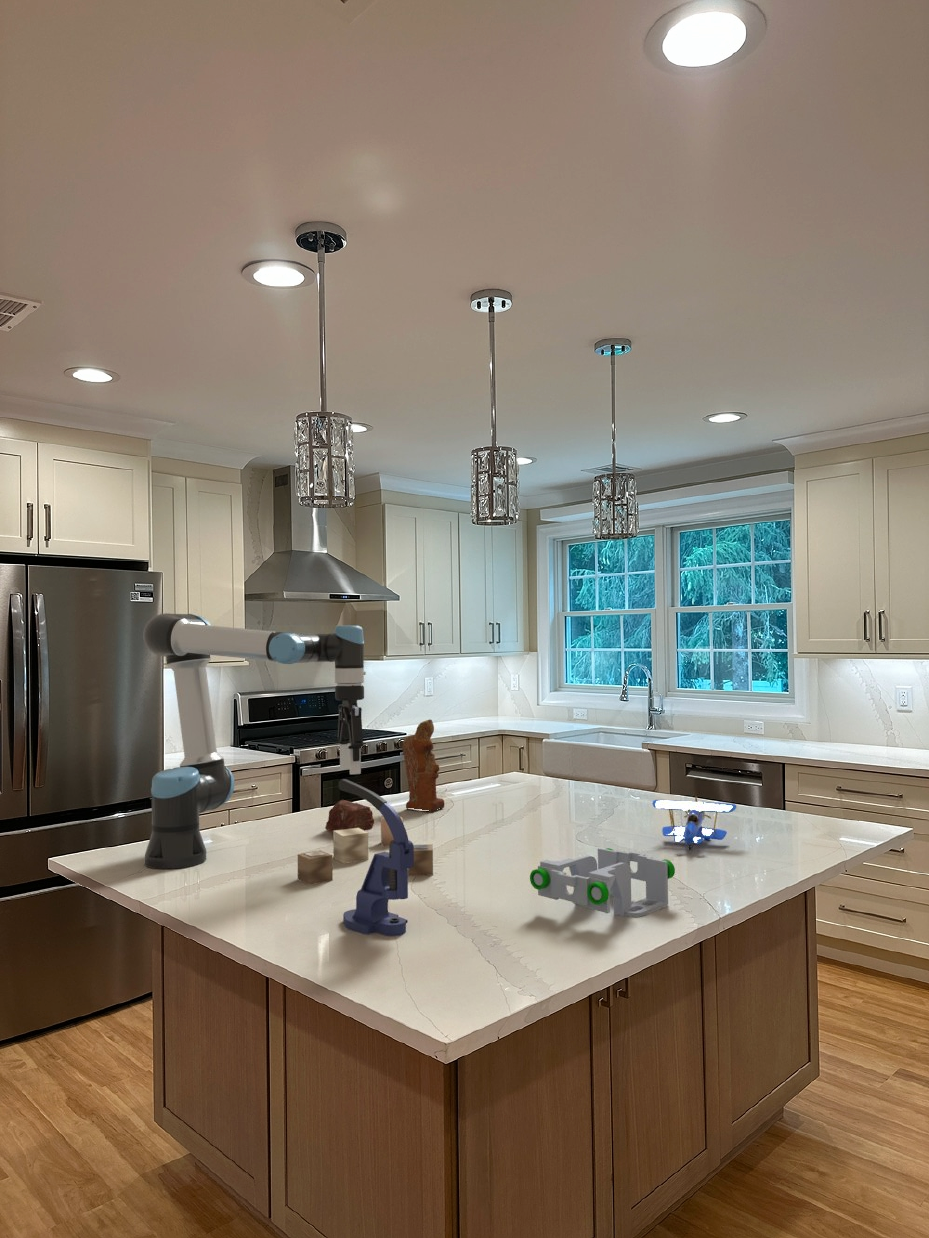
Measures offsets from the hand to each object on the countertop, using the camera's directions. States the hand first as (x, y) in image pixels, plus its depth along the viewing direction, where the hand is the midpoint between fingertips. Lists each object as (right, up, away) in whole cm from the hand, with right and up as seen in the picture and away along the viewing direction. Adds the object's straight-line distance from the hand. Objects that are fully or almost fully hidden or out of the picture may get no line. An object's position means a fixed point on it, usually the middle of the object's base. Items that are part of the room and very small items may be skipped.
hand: (350, 771), depth 224 cm
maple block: (0, -23, -1) cm, 23 cm away
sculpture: (+16, -24, +65) cm, 71 cm away
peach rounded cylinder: (+9, -23, +16) cm, 30 cm away
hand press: (+12, -21, -54) cm, 59 cm away
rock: (-5, -24, +29) cm, 38 cm away
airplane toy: (+92, -22, +11) cm, 95 cm away
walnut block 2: (+19, -22, -14) cm, 33 cm away
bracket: (+59, -21, -44) cm, 77 cm away
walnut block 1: (-6, -22, -20) cm, 31 cm away
